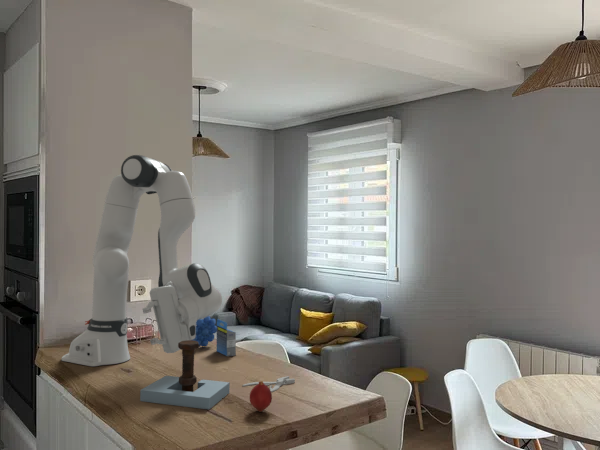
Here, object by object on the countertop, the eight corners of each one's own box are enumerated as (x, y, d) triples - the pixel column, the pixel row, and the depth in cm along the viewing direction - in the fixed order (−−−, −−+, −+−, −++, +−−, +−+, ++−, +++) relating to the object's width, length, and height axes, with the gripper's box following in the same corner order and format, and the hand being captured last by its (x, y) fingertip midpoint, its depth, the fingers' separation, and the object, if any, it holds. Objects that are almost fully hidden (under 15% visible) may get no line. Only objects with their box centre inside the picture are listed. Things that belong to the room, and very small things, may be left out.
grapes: (210, 343, 213) (211, 312, 213) (220, 346, 208) (220, 315, 208) (184, 347, 205) (185, 315, 205) (193, 350, 200) (194, 318, 200)
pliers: (242, 381, 160) (281, 373, 170) (241, 387, 160) (281, 378, 170) (261, 390, 153) (302, 381, 162) (261, 396, 153) (301, 386, 162)
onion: (249, 407, 142) (250, 377, 142) (271, 407, 143) (272, 377, 143) (248, 415, 137) (249, 384, 136) (271, 415, 137) (272, 384, 137)
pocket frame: (140, 401, 145) (140, 389, 145) (165, 385, 159) (166, 375, 159) (209, 409, 140) (209, 398, 140) (229, 392, 154) (229, 382, 154)
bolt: (199, 393, 152) (201, 340, 151) (195, 399, 147) (196, 344, 146) (179, 392, 152) (180, 339, 152) (174, 398, 147) (175, 343, 147)
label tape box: (236, 355, 195) (237, 321, 195) (226, 356, 193) (226, 322, 193) (225, 350, 203) (226, 317, 202) (215, 351, 200) (216, 318, 200)
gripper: (181, 279, 167) (146, 291, 155) (196, 343, 168) (163, 359, 156) (167, 281, 170) (132, 293, 159) (182, 344, 171) (149, 360, 160)
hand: (148, 326), depth 157 cm, fingers open, 8 cm apart
